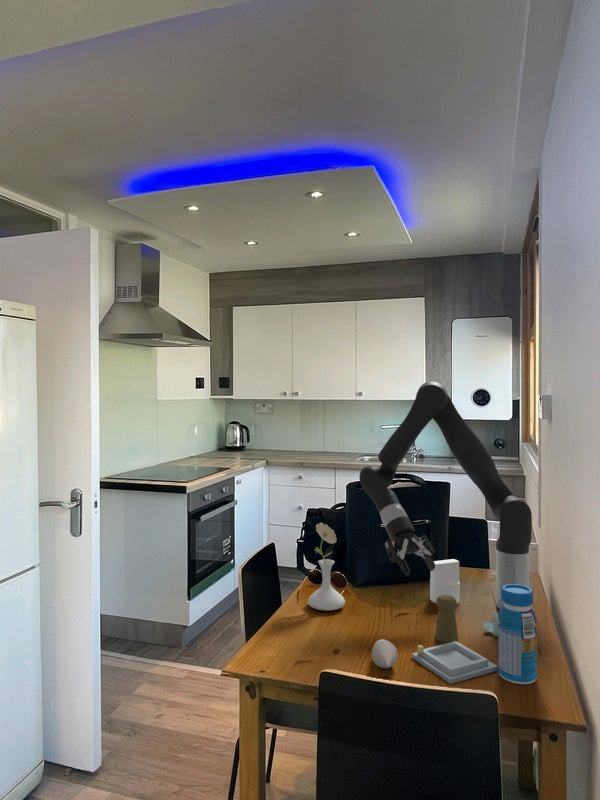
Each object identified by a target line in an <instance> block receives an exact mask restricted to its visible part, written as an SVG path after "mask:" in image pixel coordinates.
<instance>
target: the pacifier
mask: <svg viewBox="0 0 600 800" xmlns="http://www.w3.org/2000/svg"><path fill="white" fill-rule="evenodd" d="M498 614H499V612H497V611H492V612H491V613H490V619H491V621H492V622H490V621H484V622H483V623H482V626H483V628H484V630H486V632H488V633H490V634H491V635H493V636H495V637H498V630H497V628H498V624H499V622H500V621H499V619H498Z"/></svg>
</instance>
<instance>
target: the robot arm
mask: <svg viewBox="0 0 600 800" xmlns="http://www.w3.org/2000/svg"><path fill="white" fill-rule="evenodd" d="M432 420H433V421H434V422H435V423H436V424H437V426H438V427H439V429H440V432H441V433H442V435H443V437H444V440H445V442H446V444H447V446H448V448H449V449H450V451H451V453H452V455H453V456H454V458H455V460H456V461H457V462H458V464H459V466H460V467H461V468H462V470H463V471H464V472H465V473H466V475H467V477H469V479H470V481H472V482H473V484H474V485H475V486H476V487H477V488H478V489H479V491H480V492H481V493H482V495H483V497H484V499H485V501H486V502H487V504H488V506H489V508H490V510H491V511H492V513H493V515H494V517H495V519H496V520H497V521H498V522H499V536H498V538H497V539H496V541H495V543H496V545H495V553H496V555H495V556H496V557H495V559H496V560H495V561H496V562H495V569H496V570H495V571H496V574H495V576H496V578H495V579H496V580H495V586H496V587H495V588H496V591H495V593H496V596H495V598H496V599H495V600H496V602H495V604H496V605H495V606H496V607H497V608H498V609H499V610H500V609H501V607H502V606H503V605H504V603H503V602H502V599H501V589H502V587H503V586H504V585H508V584H517V585H523V586H526V587H529V588H530V589H532V576H531V575H530V553H529V552H530V545H531V543H532V531H533V530H532V528H533V524H532V523H533V516H532V510H531V508H530V506H529V504H528V503H527V502H526V501H524V500H522V499H521V498H519V497H517V496H516V495H515V494H514V493H513V492H512V490H510V488H509V487H508V486H507V484H506V483H505V482H504V480H503V479H502V478H501V476H500V474H499V472H498V468H497V466H496V464H495V462H494V458H493V457H492V455H491V453H490V452H489V451H488V449H487V447H486V446H485V444H484V443H483V442H482V440H481V439H480V438H479V437H478V436H477V434H476V433H475V431H474V430H473V429H472V428H471V426H470V425H469V424H468V423H467V422H466V421H465V419H464V418H463V417H462V416H461V414H460V413H459V411H458V410H457V408H456V406H455V404H454V403H453V401H452V400H451V398H450V396H449V393H448V391H447V390H446V388H445V386H444V385H442V384H441V383H439V382H437V381H430V380H429V381H426V382H423V384H421V385H420V386H419V388H418V390H417V392H416V395H415V398H414V400H413V403H412V405H411V408H410V409H409V411H408V413H407V415H406V416H405V418H404V420H403V421H402V422H401V424H400V425H399V426H398V427H397V428H396V429H395V431H393V434H392V435H391V436H390V437H389V438H388V439H387V442H385V444H384V446H383V447H382V448H381V449H380V452H379V453H378V455H377V458H378V459H377V460H378V461H379V462H380V466H379V467H376V466H372V465H369V466H365V467H363V468H362V469H361V470H360V472H359V477H358V478H359V483H360V485H361V487H362V489H363V490H364V492H365V493H366V494H367V496H368V497H369V498H370V499H371V501H372V502H373V503H374V504H375V507H376V509H377V512H378V513H379V515H380V518H381V522H382V525H383V527H384V528H385V530H386V532H387V534H388V537H389V539H388V540H386V541H385V543H384V548H385V552H386V553H387V555H388V558H389V561H390V562H391V563H397V564H398V565H399V568H400V570H401V572H402V573H403V574H404V575H405V576H408V575H409V574H410V573H411V569H410V567H409V565H408V563H407V561H406V559H405V555H410V554H411V555H412V554H415V555H417V556H420V557H422V559H424V562H425V564H426V567H427V568H428V571H433V570H434V569H435V563H434V561H435V560H434V559H433V558H432V556H433V555H434V553H435V549H434V547H433V545H432V543H431V541H430V540H429V538H428V537H427V535H426V534H423V535H422V536H419V537H418V536H417V535H416V531H415V528H414V526H413V524H412V522H411V519H410V518H409V516H408V513H406V511H405V509H404V507H403V506H402V505H401V503H400V501H399V499H398V497H397V495H396V493H395V492H394V491H393V490H391V489H390V488H389V487H390V486H391V484H392V483H393V482H394V481H393V480H394V478H395V475H396V473H397V470H398V467H399V465H400V463H401V462H402V461H403V459H404V458H405V457H406V455H407V454H408V452H409V451H410V449H411V447H412V446H413V444H414V443H415V442H416V440H417V439H418V437H419V435H420V434H421V433H422V432H423V430H424V429H425V428H426V426H427V425H428V424H429V423H430V422H431V421H432ZM396 550H397V552H396Z"/></svg>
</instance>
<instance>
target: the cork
mask: <svg viewBox="0 0 600 800" xmlns="http://www.w3.org/2000/svg"><path fill="white" fill-rule="evenodd" d="M435 604H436V606H437V618H436V627H435V634H434V638H436V641H438V642H440V641H441V642H440V643H444V642H445V643H444V644H446V643H450V642H454V641H457V642H458V641H459V633H458V626H457V625H458V624H457V620H456V619H457V618H456V611H455V610H456V609H457V602H456V599H455V598H454V597H452V596H450V595H440V596H439V597H438V598H437V601H436V603H435Z"/></svg>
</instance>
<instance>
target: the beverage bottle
mask: <svg viewBox="0 0 600 800" xmlns="http://www.w3.org/2000/svg"><path fill="white" fill-rule="evenodd" d="M533 591H534V590H533V589H532V588H531V589H530V588H529V587H526V586H523V585H517V584H508V585H504V586H503V587H502V589H501V599H502V602H503V603H504V605H503V606H502V607H501V609H500V608H499V612H498V619H499V621H500V622H499V624H498V628H497V630H498V636H497V637H498V638H497V639H498V641H497V645H498V647H497V649H498V650H497V651H498V653H497V654H498V658H497V659H498V661H497V662H498V665H497V666H498V671H497V672H498V674H499V676H500V678H502V679H503V680H505V681H506V682H510V683H512V684H516V685H530V684H533V683H534V682H536V681H537V677H538V674H537V672H538V671H537V670H538V669H537V663H538V662H537V654H538V653H537V650H538V649H537V646H538V644H537V641H538V640H537V639H538V629H537V627H536V625H537V623H538V621H537V617H536V614H535V612H534V611H533V609H532V607H533V604H534V592H533Z"/></svg>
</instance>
